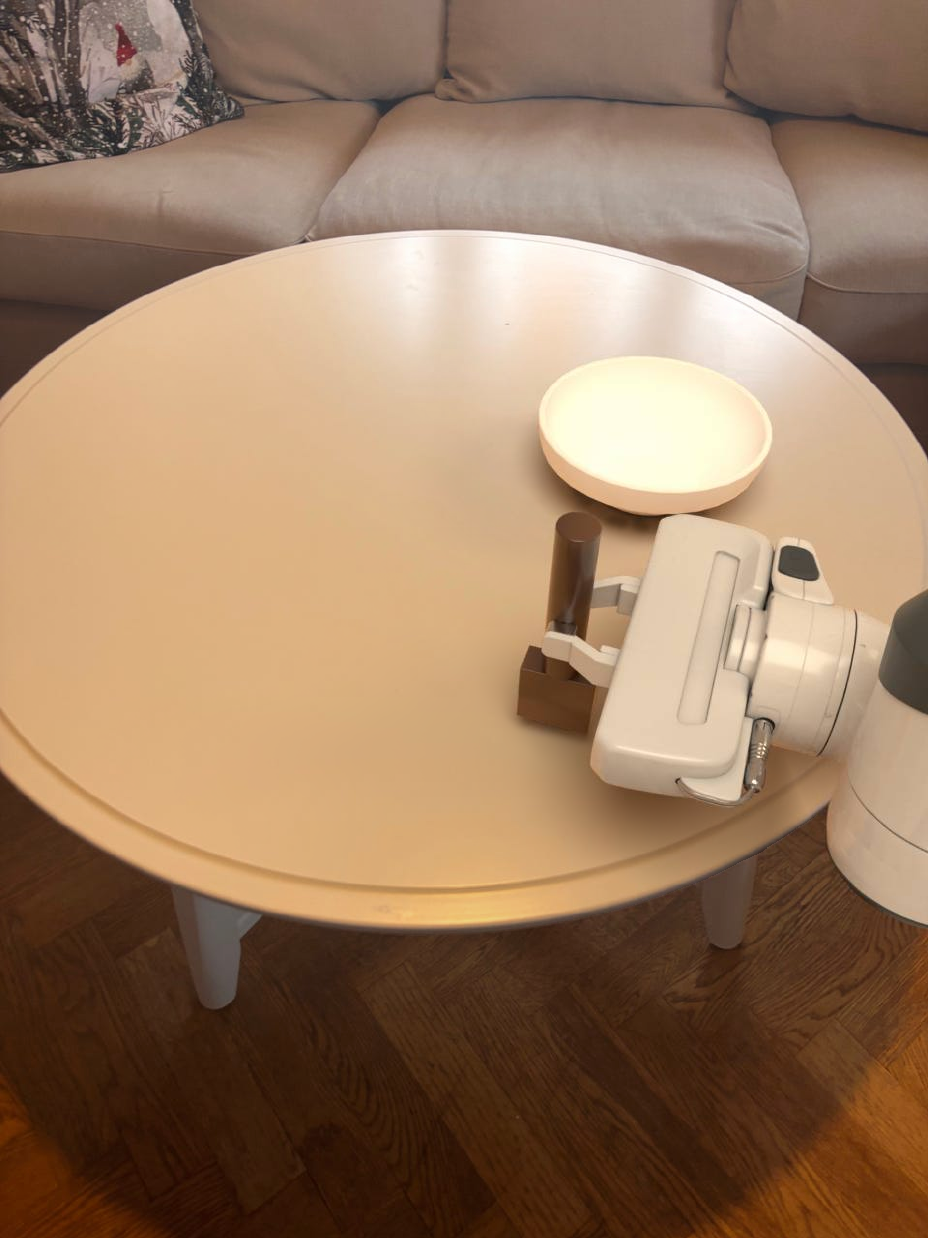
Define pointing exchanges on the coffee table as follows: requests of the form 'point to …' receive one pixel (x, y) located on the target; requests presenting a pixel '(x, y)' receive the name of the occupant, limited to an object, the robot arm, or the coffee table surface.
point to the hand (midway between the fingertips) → (553, 614)
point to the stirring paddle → (551, 682)
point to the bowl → (653, 434)
